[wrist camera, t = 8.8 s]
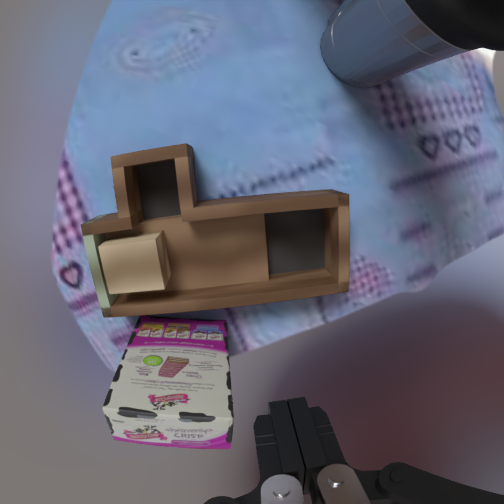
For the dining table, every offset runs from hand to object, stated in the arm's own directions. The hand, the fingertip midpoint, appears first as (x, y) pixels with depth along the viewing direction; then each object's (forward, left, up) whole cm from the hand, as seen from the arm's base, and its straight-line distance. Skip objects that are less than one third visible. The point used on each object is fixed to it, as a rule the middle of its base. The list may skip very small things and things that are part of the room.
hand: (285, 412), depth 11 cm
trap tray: (-4, -3, -24) cm, 24 cm away
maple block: (-1, -11, -22) cm, 25 cm away
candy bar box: (+10, -9, -24) cm, 28 cm away
